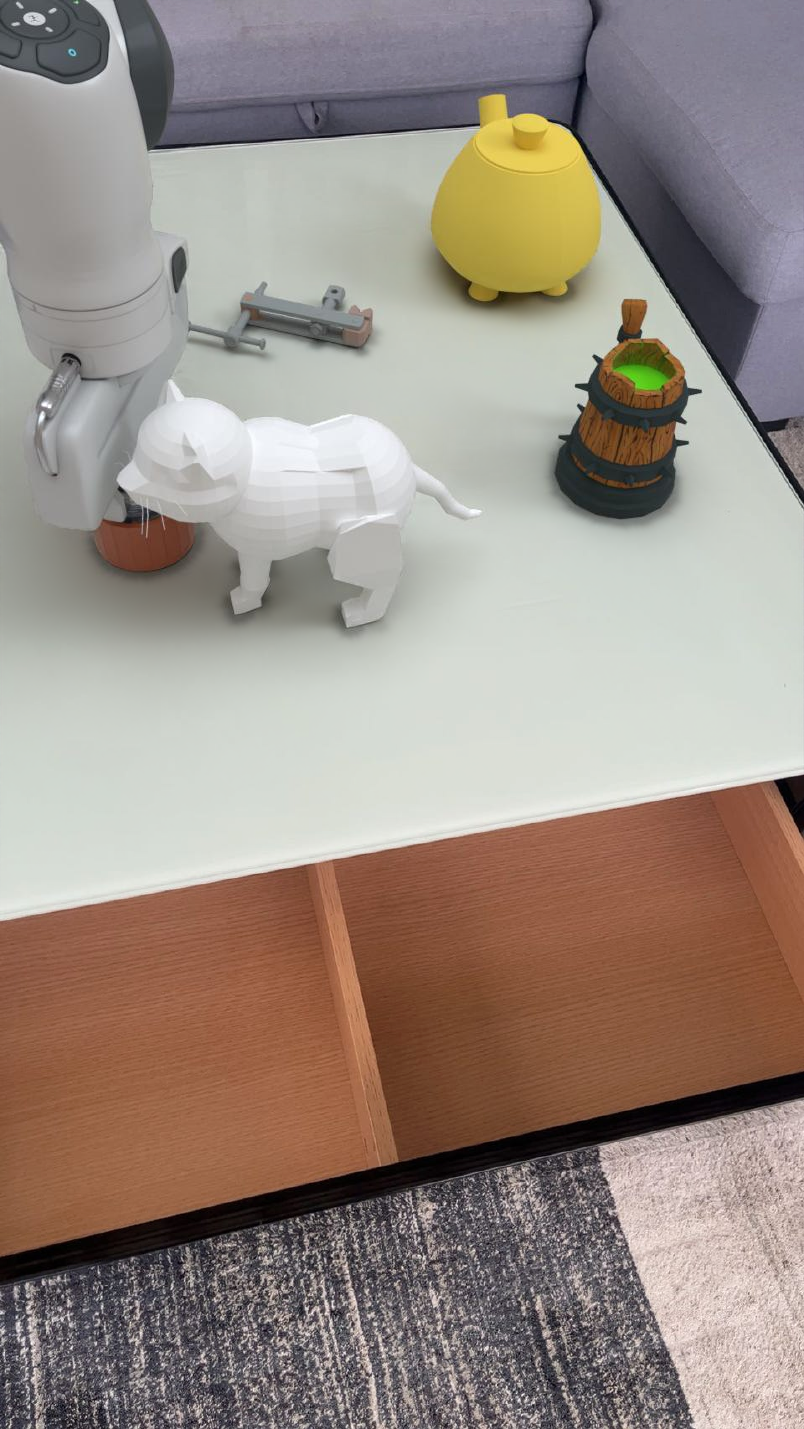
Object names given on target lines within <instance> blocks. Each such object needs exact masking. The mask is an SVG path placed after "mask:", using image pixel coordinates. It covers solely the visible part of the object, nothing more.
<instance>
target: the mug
mask: <svg viewBox="0 0 804 1429" xmlns="http://www.w3.org/2000/svg"><path fill="white" fill-rule="evenodd" d="M620 306H621V307H620V308H621V312H620V313H621V318H622V324H621V325H620V327H619V329H618V331H617V336H616V341H617V342H618V344H617V345H616V346H614V347H613V348H611V350H610V351H609V352H608V353H607V354H606V355H605V356H604V357H603V358H602V357H600V356H598V355H597V354H595V353H593V354H592V355H591V357H592V359H593V361H595V362H596V366H595V368H594V369H593V370H592V372H591V374H590V376H589V378H588V381H587V382H583V383H575V384H574V388H576V389H578V390H582V391H584V392H586V393H587V396H588V399H587V402H586V405H585V406H583V404H581V403H577V404H576V407H577V409H578V410H579V412H580V414H579V416H578V417H577V419H576V421H575V423H574V424H573V426H572V428H571V431H570V433H569V434H559V435H558V436H557V437H558V438H557V439H558V440H562V441H564V443H563V444H562V446H560V448H559V449H558V454H557V459H556V463H555V469H554V475H555V478H556V480H557V481H556V482H557V483H558V486H559V489H560V490H561V491H562V492H563V493H564V495H566V496H567V498H569V499H570V500H571V501H572V503H574V504H575V505H576V506H579V507H581V508H582V509H585V510H587V511H588V512H591V513H593V514H595V515H599V516H603V517H609V518H615V519H620V520H621V519H631V518H639V517H644V516H647V515H648V514H650V513H653V512H655V511H657V510H659V509H661V508H662V507H663V505H664V504H665V503H666V502H667V501H668V499H669V498H670V497H671V495H672V493H673V490H674V487H675V482H676V471H677V470H676V468H675V464H674V463H675V459H676V457H677V456H676V455H677V449H678V447H683V446H688V445H690V441H689V440H683V439H677V438H676V433H675V431H676V427H677V423H678V424H682V425H684V426H686V425H687V424H688V421H687V420H686V419H684V417H682V416H683V413H684V411H685V409H686V407H687V405H688V401H689V397H691V396H694V395H699V394H702V393H703V389H700V388H694V387H693V388H692V387H688V383H687V379H686V378H685V375H686V370H685V368H684V366H683V364H682V362H681V361H680V359H679V358H677V356H675V355H674V354H672V352H670V351H671V350H670V348H668V346H666V345H665V344H664V343H663V342H662V341H661V339H659V338H642V335H643V329H642V325H643V322H644V320H645V317H646V315H647V313H648V312H647V311H648V302H647V299H641V298H624V299H623V301H622V303H621V305H620Z"/></svg>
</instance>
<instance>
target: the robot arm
mask: <svg viewBox="0 0 804 1429" xmlns="http://www.w3.org/2000/svg"><path fill="white" fill-rule="evenodd" d="M171 50H172V49H171V48H170V45H169V41H168V39H167V37H166V34H165V32H164V29H163V27H162V25H161V23H160V21H159V19H158V18H157V16H156V14H155V12H154V10H153V8H152V6H151V5H150V4H149V2H148V0H0V245H1V247H2V249H3V250H4V253H5V257H6V271H7V272H6V273H7V278H8V281H9V285H10V288H11V292H12V295H13V299H14V303H15V306H16V308H17V309H16V310H17V313H18V316H19V320H20V323H21V328H22V331H23V334H24V338H25V342H26V345H27V347H28V350H29V351H30V353H31V355H32V356H33V357H34V358H35V359H36V360H37V362H39V363H40V364H42V365H43V366H44V367H46V368H48V369H49V370H51V371H52V372H51V374H50V375H49V378H48V379H47V381H46V382H45V384H44V386H43V388H42V389H41V391H40V393H39V395H38V396H37V398H36V400H35V401H34V402H33V405H32V406H31V408H30V409H29V412H28V414H27V417H26V419H25V423H24V427H23V435H22V439H23V440H22V444H23V446H22V447H23V456H24V461H25V466H26V472H27V478H28V483H29V487H30V491H31V495H32V500H33V504H34V507H35V510H36V513H37V516H38V518H39V519H40V520H41V521H42V522H44V523H46V524H50V525H51V526H52V525H53V526H55V527H59V528H64V529H69V530H75V531H77V530H78V531H85V532H87V531H88V532H89V531H91V532H92V531H93V530H96V529H97V528H98V527H99V526H100V524H101V522H102V520H103V518H104V519H105V520H110V521H116V522H123V521H124V520H125V518H126V516H127V514H128V511H129V509H130V507H131V502H130V496H129V495H128V493H127V492H126V491H125V490H124V489H118V487H119V483H118V482H117V477H118V474H119V473H120V472H121V471H122V470H123V469H124V468H125V467H126V466H127V465H128V464H129V463H130V462H131V461H130V460H132V458H133V454H134V451H135V450H134V448H135V449H136V446H137V439H138V433H139V429H140V426H141V424H142V422H143V421H144V419H145V418H146V417H147V416H148V415H149V414H150V413H151V412H152V411H154V410H155V409H156V406H157V403H158V400H159V397H160V394H161V390H162V387H163V384H164V383H165V382H167V381H168V380H170V379H172V377H173V374H174V372H175V370H176V368H177V366H178V364H179V362H180V360H181V358H182V356H183V354H184V352H185V350H186V346H187V342H188V336H189V332H188V329H189V321H190V318H189V316H190V315H189V302H188V300H189V298H188V288H187V279H186V273H187V270H188V268H189V265H190V255H189V254H190V253H189V246H188V242H187V239H186V238H185V236H181V235H177V234H173V233H168V232H164V231H158V230H154V228H153V224H152V219H151V210H152V204H153V198H154V184H153V178H152V169H151V163H150V157H149V152H150V151H151V150H153V149H154V148H155V147H156V146H157V144H158V143H159V142H160V140H161V138H162V136H163V133H164V130H165V128H166V126H167V123H168V119H169V116H170V113H171V108H172V103H173V98H174V91H175V64H174V59H173V55H172V51H171ZM128 442H130V443H128ZM132 443H133V444H132ZM133 445H134V447H133ZM124 451H126V452H124ZM127 452H128V453H127ZM128 454H129V456H128ZM129 457H130V459H129ZM119 462H120V463H121V464H122V465H121V464H120V463H119ZM115 463H116V464H115ZM123 465H124V466H125V467H124V466H123Z"/></svg>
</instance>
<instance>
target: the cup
mask: <svg viewBox="0 0 804 1429" xmlns="http://www.w3.org/2000/svg"><path fill="white" fill-rule="evenodd" d="M162 518H163V520H162ZM163 523H164V525H163ZM164 527H165V530H164ZM91 535H92V538H93V541H94V543H95V546H96V549H97V551H98V553H99V555H101V557H102V558H103V560H105V561H106V562H108V563H109V564H110V565H112V566H114V567H117V568H119V569H122V570H125V571H129V572H152V571H158V570H160V569H164V568H166V567H167V568H168V567H169V566H172V565H173V564H175V563H176V562H178V561H180V560H181V559H182V558H183V557H185V555H186V554H187V553H188V552H189V551H190V550H191V548H192V546H193V544H194V543H195V538H196V523H191V522H183V521H182V522H180V521H177V520H175V519H172V518H170V517H167V516H165V515H163V516H161V517H159V518H158V519H154V520H151V521H148V528H147V522H144V523H143V530H142V523H130V524H128V523H122V522H116V521H110V520H105V519H104V518H103V520H102V522H101V524H100V526H99V527H98V528H97V529H96V530H93V531H91ZM146 535H147V538H146Z"/></svg>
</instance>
